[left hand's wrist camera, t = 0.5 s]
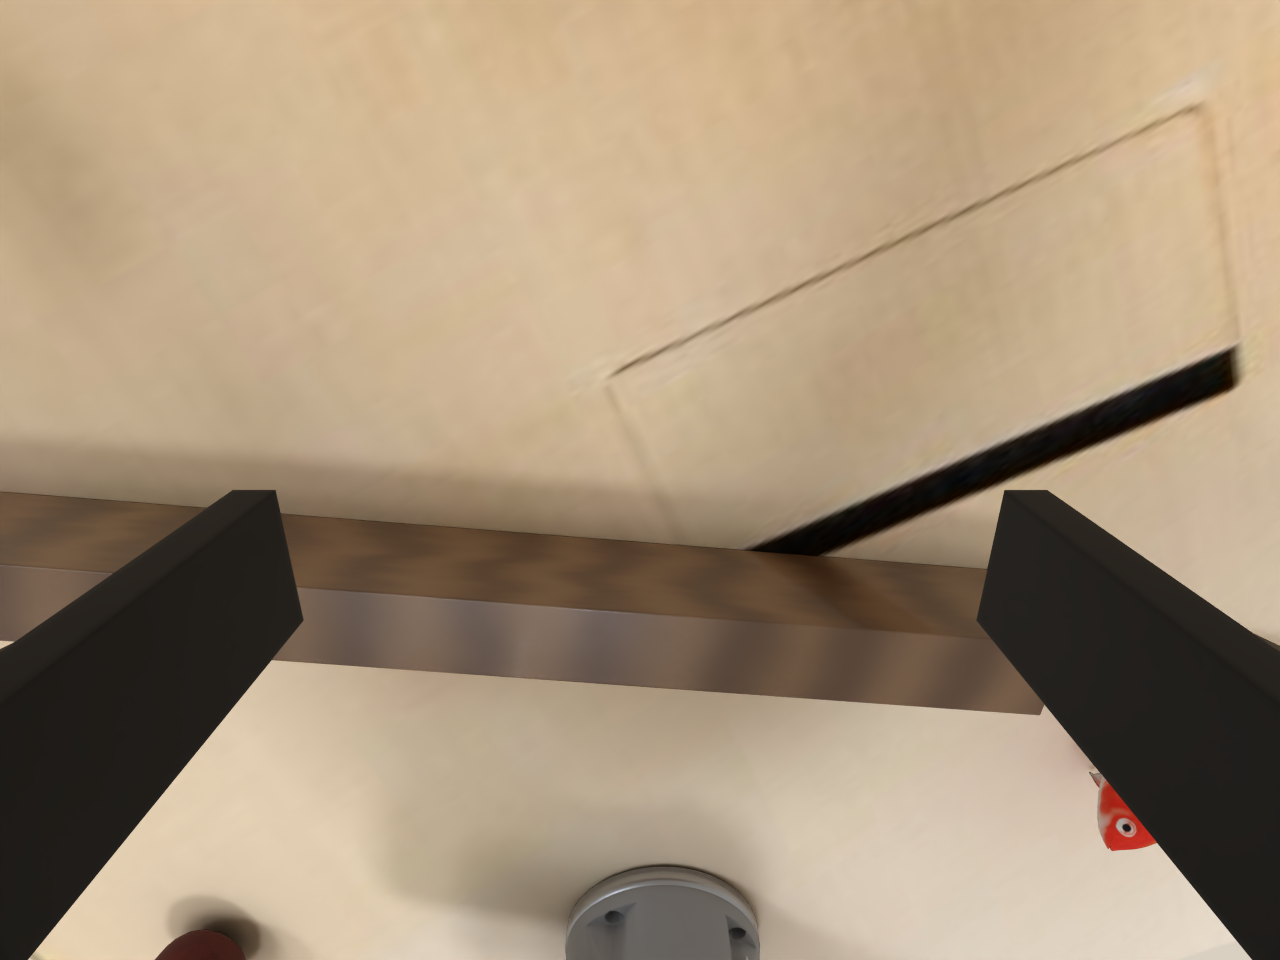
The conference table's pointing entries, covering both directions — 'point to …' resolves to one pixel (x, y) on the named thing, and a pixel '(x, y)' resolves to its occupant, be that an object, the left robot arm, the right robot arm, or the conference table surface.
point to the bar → (565, 606)
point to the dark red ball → (202, 947)
